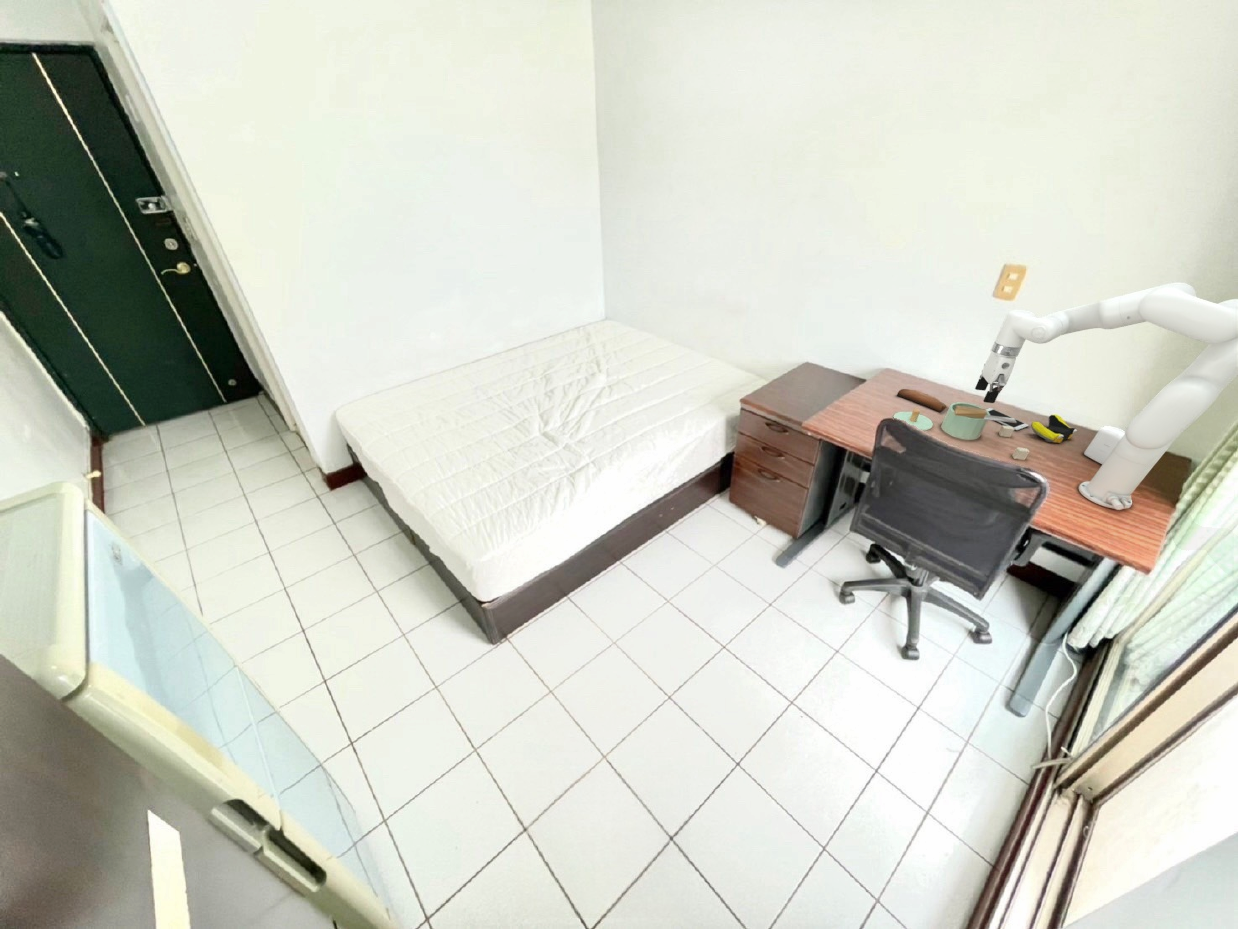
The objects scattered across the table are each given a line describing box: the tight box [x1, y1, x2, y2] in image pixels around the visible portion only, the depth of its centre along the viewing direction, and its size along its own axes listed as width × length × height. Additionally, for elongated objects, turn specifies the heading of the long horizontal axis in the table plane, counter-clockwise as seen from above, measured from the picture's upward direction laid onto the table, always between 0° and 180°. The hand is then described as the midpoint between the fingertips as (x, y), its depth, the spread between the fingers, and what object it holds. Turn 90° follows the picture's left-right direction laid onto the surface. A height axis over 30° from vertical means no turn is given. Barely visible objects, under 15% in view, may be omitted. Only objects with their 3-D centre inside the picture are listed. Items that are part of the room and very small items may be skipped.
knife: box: [954, 406, 1017, 423], centre depth 172 cm, size 3×19×3 cm, turn 73°
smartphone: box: [985, 407, 1029, 431], centre depth 188 cm, size 8×1×15 cm
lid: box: [892, 408, 934, 432], centre depth 185 cm, size 14×14×6 cm
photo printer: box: [1083, 425, 1125, 465], centre depth 162 cm, size 10×4×12 cm, turn 14°
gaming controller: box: [1030, 414, 1078, 444], centre depth 177 cm, size 15×6×10 cm
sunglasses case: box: [896, 388, 948, 413], centre depth 199 cm, size 18×7×7 cm
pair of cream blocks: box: [998, 425, 1030, 461], centre depth 172 cm, size 17×3×4 cm, turn 163°
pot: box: [940, 401, 990, 441], centre depth 179 cm, size 13×13×9 cm
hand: (984, 395), depth 168 cm, fingers open, 9 cm apart
